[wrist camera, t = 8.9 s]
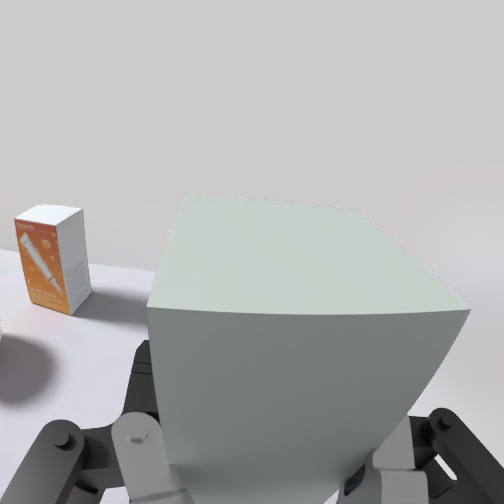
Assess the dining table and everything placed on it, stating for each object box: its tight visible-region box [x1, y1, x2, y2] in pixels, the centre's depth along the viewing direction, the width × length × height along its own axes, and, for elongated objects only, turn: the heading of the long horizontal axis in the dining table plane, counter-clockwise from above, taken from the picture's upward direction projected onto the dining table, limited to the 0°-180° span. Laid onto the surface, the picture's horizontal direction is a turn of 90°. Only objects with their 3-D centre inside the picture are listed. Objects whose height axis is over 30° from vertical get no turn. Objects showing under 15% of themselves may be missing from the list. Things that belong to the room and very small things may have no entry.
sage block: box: [146, 192, 471, 504], centre depth 8 cm, size 5×5×12 cm
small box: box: [14, 204, 92, 315], centre depth 35 cm, size 8×6×13 cm
